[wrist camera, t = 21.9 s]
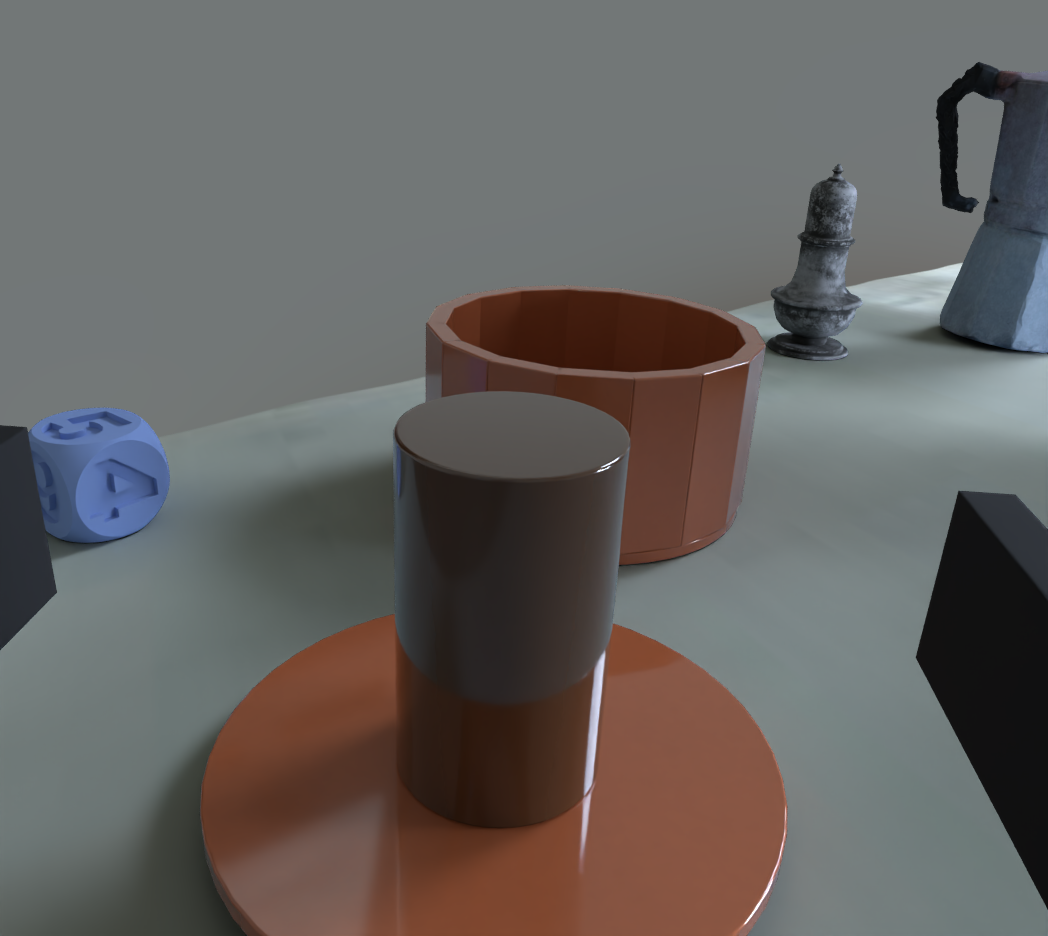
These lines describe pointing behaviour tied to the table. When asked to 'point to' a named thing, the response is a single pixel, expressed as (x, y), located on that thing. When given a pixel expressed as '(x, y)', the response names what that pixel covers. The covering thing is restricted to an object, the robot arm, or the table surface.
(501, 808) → the lid
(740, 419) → the pot
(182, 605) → the table surface
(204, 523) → the table surface
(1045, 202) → the moka pot
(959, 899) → the table surface
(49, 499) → the decorative dice
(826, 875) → the table surface
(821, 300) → the salt shaker
